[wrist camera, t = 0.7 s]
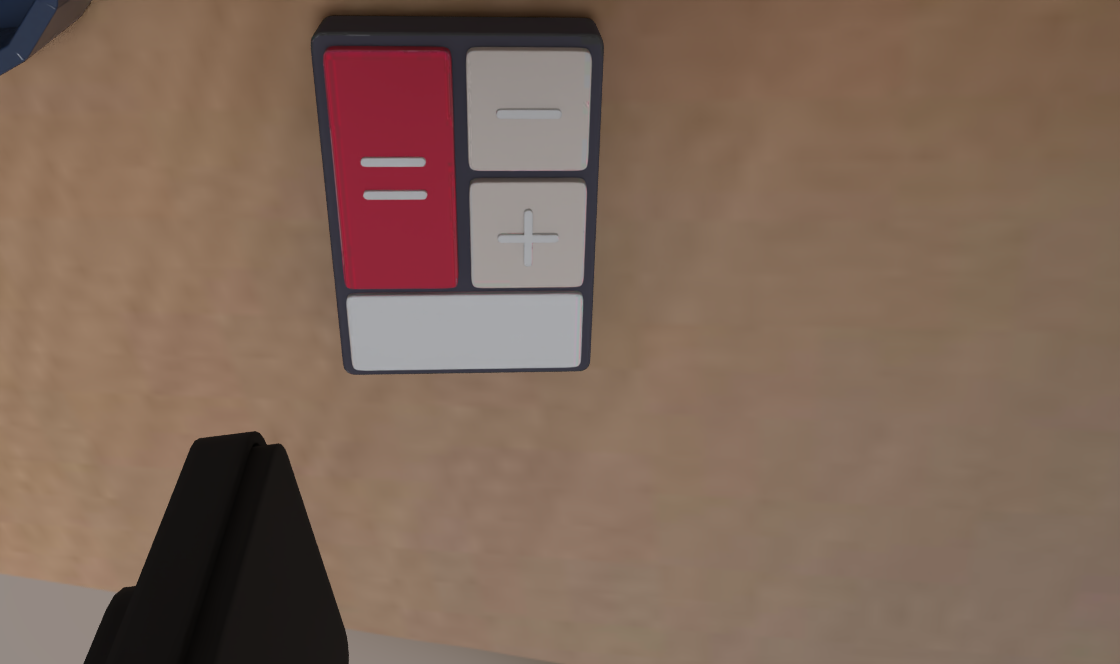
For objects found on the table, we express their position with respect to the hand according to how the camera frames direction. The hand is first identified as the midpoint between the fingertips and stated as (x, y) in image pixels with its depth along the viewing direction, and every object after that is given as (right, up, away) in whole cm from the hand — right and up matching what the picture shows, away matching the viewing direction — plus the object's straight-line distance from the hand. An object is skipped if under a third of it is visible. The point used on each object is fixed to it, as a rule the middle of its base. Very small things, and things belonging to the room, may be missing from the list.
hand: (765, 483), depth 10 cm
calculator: (-6, +8, +34) cm, 35 cm away
